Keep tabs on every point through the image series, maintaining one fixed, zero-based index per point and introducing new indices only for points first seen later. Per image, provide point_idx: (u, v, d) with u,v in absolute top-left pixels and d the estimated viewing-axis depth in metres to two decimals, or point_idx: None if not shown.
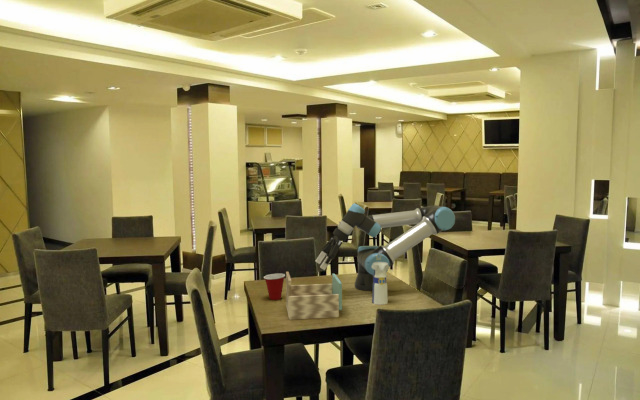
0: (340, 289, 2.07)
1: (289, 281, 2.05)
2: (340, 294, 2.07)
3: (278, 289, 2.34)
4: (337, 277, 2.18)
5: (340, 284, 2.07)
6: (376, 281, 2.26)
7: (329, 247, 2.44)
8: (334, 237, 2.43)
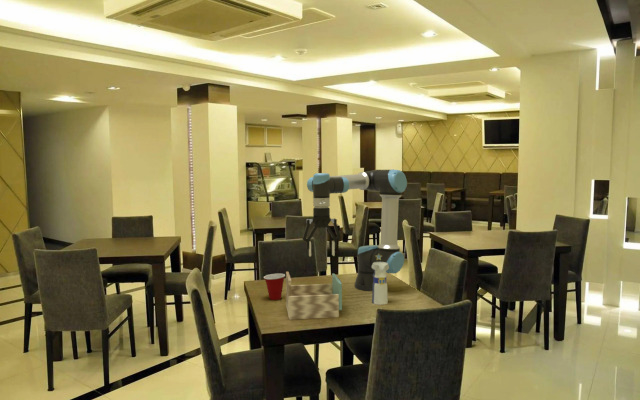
0: (340, 289, 2.07)
1: (289, 281, 2.05)
2: (340, 294, 2.07)
3: (278, 289, 2.34)
4: (337, 277, 2.18)
5: (340, 284, 2.07)
6: (376, 281, 2.26)
7: (313, 232, 2.14)
8: (315, 218, 2.12)
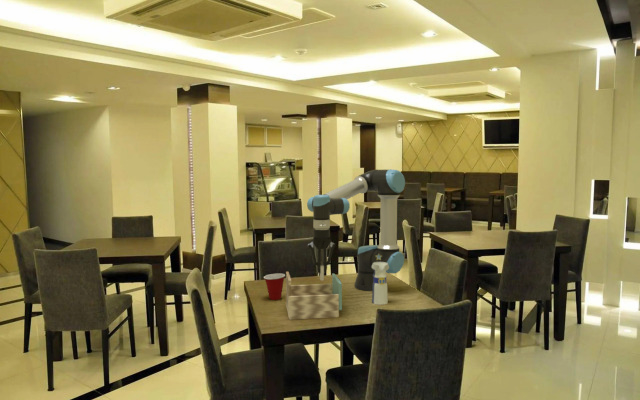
0: (340, 289, 2.07)
1: (289, 281, 2.05)
2: (340, 294, 2.07)
3: (278, 289, 2.34)
4: (337, 277, 2.18)
5: (340, 284, 2.07)
6: (376, 281, 2.26)
7: None
8: (315, 240, 2.13)
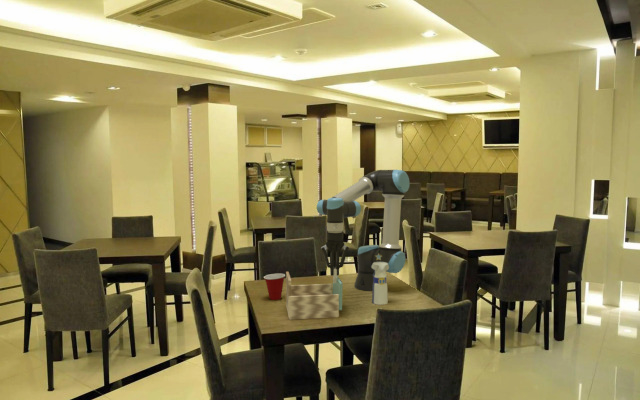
0: (341, 289, 2.07)
1: (289, 281, 2.05)
2: (340, 294, 2.07)
3: (278, 289, 2.34)
4: (337, 277, 2.18)
5: (341, 284, 2.07)
6: (376, 281, 2.26)
7: None
8: (328, 242, 2.14)
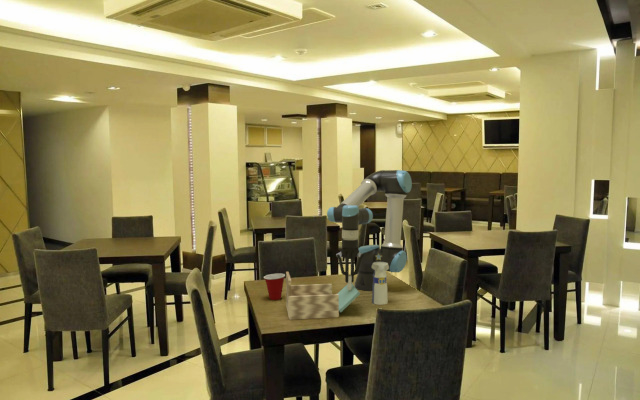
0: (355, 297, 2.08)
1: (289, 281, 2.05)
2: (351, 300, 2.08)
3: (278, 289, 2.34)
4: None
5: (358, 293, 2.09)
6: (376, 281, 2.26)
7: None
8: (343, 250, 2.15)
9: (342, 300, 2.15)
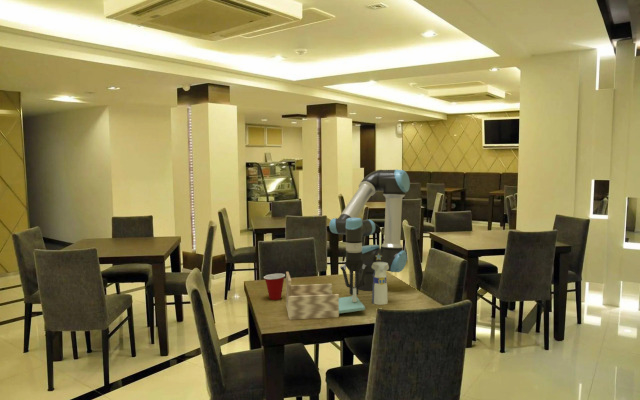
0: (359, 309, 2.09)
1: (289, 281, 2.05)
2: (354, 310, 2.09)
3: (278, 289, 2.34)
4: None
5: (364, 308, 2.09)
6: (376, 281, 2.26)
7: None
8: (347, 262, 2.16)
9: (344, 305, 2.15)
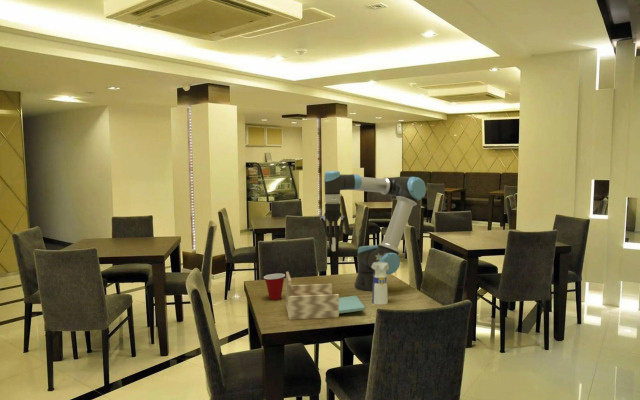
0: (359, 309, 2.09)
1: (289, 281, 2.05)
2: (354, 310, 2.09)
3: (278, 289, 2.34)
4: None
5: (364, 308, 2.09)
6: (376, 281, 2.26)
7: None
8: (327, 213, 2.27)
9: (344, 305, 2.15)
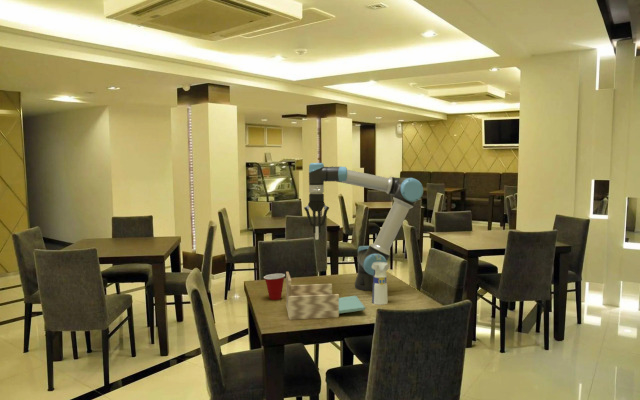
0: (359, 309, 2.09)
1: (289, 281, 2.05)
2: (354, 310, 2.09)
3: (278, 289, 2.34)
4: None
5: (364, 308, 2.09)
6: (376, 281, 2.26)
7: None
8: (310, 203, 2.38)
9: (344, 305, 2.15)
